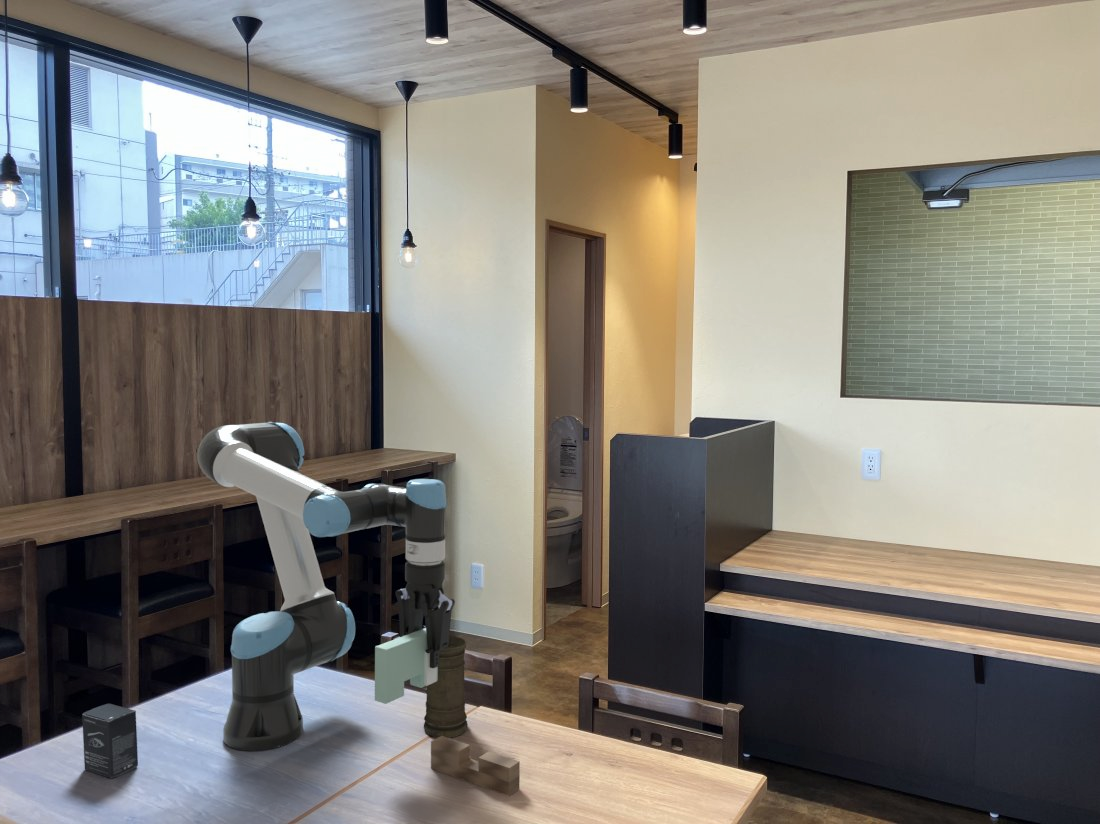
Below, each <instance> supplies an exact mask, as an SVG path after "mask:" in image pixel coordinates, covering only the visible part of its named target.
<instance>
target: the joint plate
mask: <svg viewBox="0 0 1100 824" xmlns="http://www.w3.org/2000/svg"><path fill="white" fill-rule="evenodd" d="M427 649H428V645H427V634H426V627H424V628H422V629H421V630H419V631H416V632H413V633H410V634H408V635H405V636H402V637H400V636H399V637H397V638H394V639H393V640H388V641H387V642H383V643H381V644H379V645H375V647H374V701H376V702H379V703H382V704H384V705H387V704H389V703H391V702H393V701H395V700H398V699H400V698H402V697H404V696H405V682H406V681H409V685H410V686H412V687H417V688H419V689H422V688H425V687H427V686H426V685H424V655H425V650H427ZM437 681H438V667H437Z"/></svg>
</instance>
